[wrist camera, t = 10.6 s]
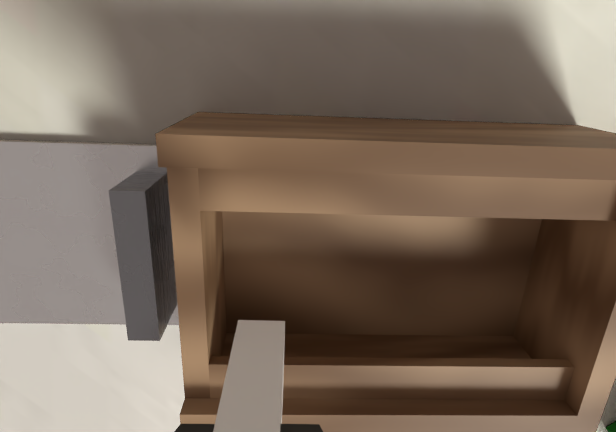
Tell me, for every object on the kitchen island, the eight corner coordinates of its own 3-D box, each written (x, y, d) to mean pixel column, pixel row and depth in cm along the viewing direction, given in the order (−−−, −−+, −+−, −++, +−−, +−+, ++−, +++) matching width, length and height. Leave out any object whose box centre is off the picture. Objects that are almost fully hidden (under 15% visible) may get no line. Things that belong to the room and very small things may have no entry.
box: (197, 112, 21) (155, 133, 15) (577, 125, 22) (696, 151, 16) (209, 341, 26) (181, 434, 20) (521, 344, 27) (594, 434, 20)
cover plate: (-129, 133, 22) (-228, 150, 18) (201, 143, 22) (181, 161, 18) (-72, 312, 25) (-143, 360, 21) (210, 315, 26) (194, 363, 22)
